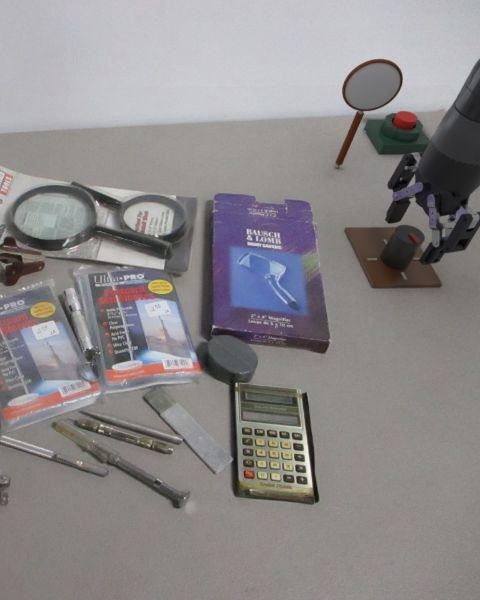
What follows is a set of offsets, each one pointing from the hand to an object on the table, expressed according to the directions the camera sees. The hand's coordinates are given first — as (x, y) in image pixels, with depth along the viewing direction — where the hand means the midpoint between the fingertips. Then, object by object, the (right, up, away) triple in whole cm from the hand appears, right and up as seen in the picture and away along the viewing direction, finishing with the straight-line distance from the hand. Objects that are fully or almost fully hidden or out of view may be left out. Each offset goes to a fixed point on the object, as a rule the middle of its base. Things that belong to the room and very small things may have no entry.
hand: (408, 241), depth 84 cm
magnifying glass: (-1, +15, +21) cm, 26 cm away
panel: (0, -3, +5) cm, 6 cm away
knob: (0, -2, +3) cm, 4 cm away
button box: (+12, +21, +27) cm, 36 cm away
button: (+12, +24, +24) cm, 36 cm away
